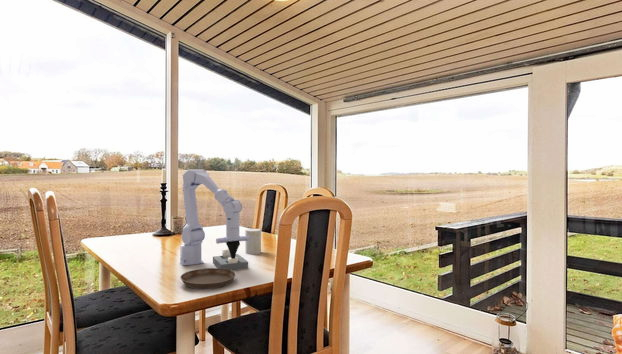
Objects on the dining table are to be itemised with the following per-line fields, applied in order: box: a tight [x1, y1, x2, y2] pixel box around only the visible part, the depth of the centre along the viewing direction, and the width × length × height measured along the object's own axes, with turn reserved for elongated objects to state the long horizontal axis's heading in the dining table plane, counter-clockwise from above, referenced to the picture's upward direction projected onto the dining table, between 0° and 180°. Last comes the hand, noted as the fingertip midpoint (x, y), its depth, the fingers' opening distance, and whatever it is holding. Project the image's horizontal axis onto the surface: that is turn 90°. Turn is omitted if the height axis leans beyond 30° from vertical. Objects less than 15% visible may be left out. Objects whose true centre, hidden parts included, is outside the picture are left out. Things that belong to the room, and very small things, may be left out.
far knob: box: [221, 247, 231, 259], centre depth 174 cm, size 4×4×4 cm
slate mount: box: [212, 253, 249, 271], centre depth 170 cm, size 12×16×3 cm
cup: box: [244, 228, 262, 255], centre depth 197 cm, size 8×8×12 cm
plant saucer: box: [180, 267, 236, 290], centre depth 145 cm, size 21×21×3 cm
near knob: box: [228, 257, 238, 264], centre depth 166 cm, size 4×4×4 cm
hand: (232, 258), depth 166 cm, fingers closed, pressing on near knob
